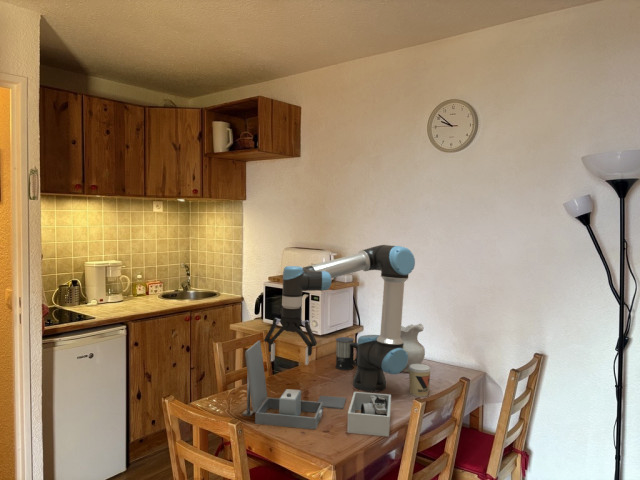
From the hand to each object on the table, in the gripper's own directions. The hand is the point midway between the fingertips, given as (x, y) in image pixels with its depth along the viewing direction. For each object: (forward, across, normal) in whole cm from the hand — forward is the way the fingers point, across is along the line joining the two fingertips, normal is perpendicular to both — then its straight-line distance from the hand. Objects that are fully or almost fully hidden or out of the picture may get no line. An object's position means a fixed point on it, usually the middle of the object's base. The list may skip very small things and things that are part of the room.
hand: (289, 362), depth 181 cm
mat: (+20, -14, -16) cm, 29 cm away
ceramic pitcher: (+19, -42, -71) cm, 85 cm away
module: (+21, -2, +2) cm, 21 cm away
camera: (+20, -33, -2) cm, 39 cm away
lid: (+5, +12, +3) cm, 13 cm away
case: (+21, -2, +2) cm, 21 cm away
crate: (+20, -31, -2) cm, 37 cm away
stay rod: (+21, +15, +2) cm, 26 cm away
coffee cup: (+20, -50, -36) cm, 64 cm away
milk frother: (+20, -15, -68) cm, 72 cm away
